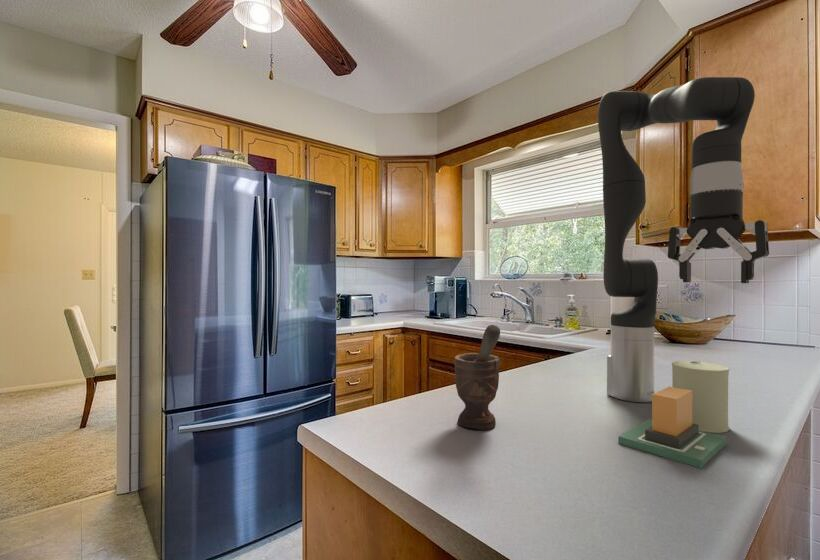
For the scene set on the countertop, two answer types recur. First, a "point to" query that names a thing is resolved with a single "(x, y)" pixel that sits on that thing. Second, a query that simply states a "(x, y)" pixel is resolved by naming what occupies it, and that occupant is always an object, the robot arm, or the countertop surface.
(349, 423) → the countertop surface
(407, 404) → the countertop surface
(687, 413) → the block
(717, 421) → the can
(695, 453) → the header board
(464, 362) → the mortar and pestle
